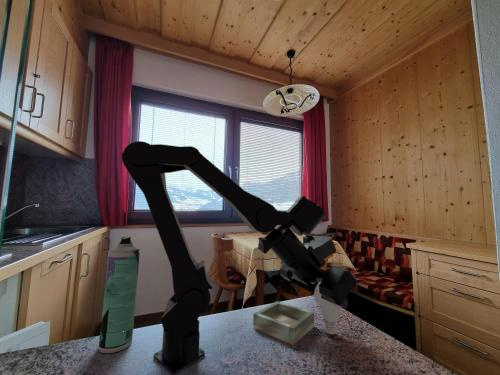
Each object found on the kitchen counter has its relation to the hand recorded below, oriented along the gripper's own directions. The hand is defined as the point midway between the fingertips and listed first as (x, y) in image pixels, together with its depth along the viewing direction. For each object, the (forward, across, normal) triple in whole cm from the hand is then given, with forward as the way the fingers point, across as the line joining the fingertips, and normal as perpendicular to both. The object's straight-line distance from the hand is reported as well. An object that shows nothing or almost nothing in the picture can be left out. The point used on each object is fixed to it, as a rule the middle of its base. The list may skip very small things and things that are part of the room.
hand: (334, 300), depth 49 cm
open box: (-2, +6, +11) cm, 13 cm away
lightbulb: (+4, 0, +6) cm, 7 cm away
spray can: (-26, +11, +35) cm, 45 cm away
